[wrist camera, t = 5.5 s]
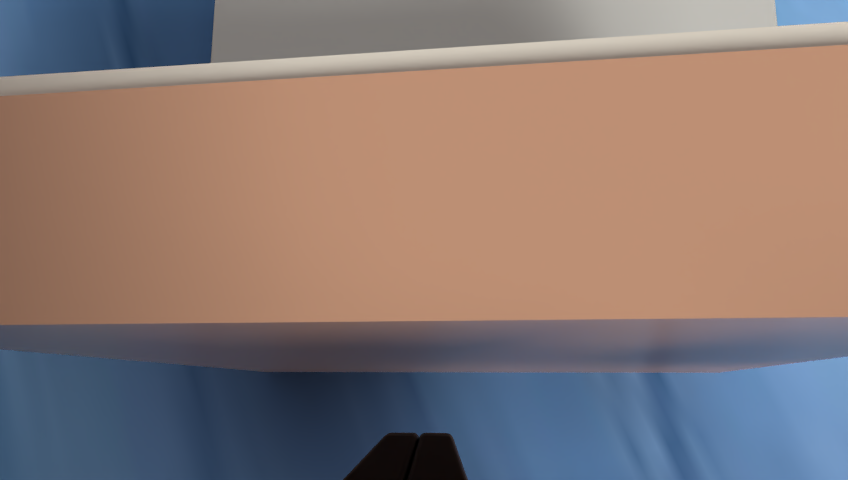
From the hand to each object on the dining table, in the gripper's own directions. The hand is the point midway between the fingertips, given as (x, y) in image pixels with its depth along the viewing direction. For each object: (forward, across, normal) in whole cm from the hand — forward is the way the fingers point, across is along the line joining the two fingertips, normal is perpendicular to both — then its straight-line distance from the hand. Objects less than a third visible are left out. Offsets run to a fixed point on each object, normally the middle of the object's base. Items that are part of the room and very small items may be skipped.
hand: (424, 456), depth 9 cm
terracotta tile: (+9, 0, -6) cm, 11 cm away
